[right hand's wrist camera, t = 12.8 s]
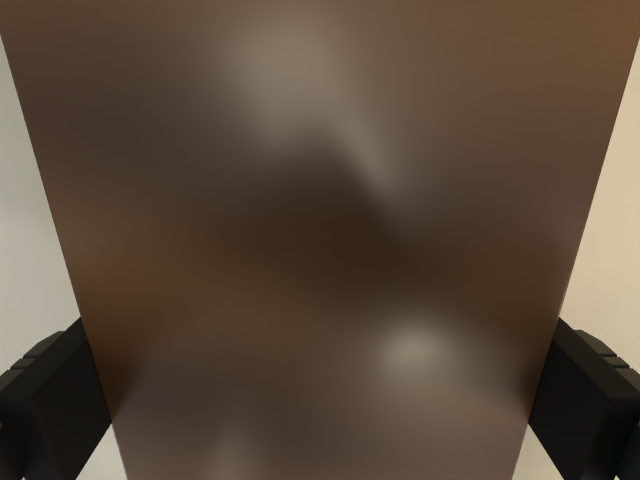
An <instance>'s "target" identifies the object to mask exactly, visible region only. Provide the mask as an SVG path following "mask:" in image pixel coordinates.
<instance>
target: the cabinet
mask: <svg viewBox="0 0 640 480" xmlns="http://www.w3.org/2000/svg"><path fill="white" fill-rule="evenodd" d="M0 35H1V38H2V42H3V45H4V49H5V52H6V56H7V59H8V63H9V66H10V70H11V73H12V77H13V80H14V84H15V87H16V91H17V94H18V98H19V101H20V105H21V108H22V112H23V115H24V119H25V122H26V126H27V129H28V133H29V136H30V140H31V143H32V147H33V150H34V154H35V157H36V161H37V164H38V168H39V171H40V175H41V178H42V182H43V185H44V189H45V193H46V196H47V200H48V203H49V207H50V210H51V214H52V217H53V221H54V224H55V228H56V231H57V235H58V238H59V242H60V245H61V249H62V252H63V256H64V259H65V263H66V266H67V270H68V273H69V277H70V280H71V284H72V287H73V291H74V294H75V298H76V301H77V305H78V308H79V312H80V315H81V319H82V322H83V326H84V329H85V333H86V336H87V340H88V343H89V347H90V350H91V354H92V357H93V361H94V364H95V368H96V371H97V375H98V378H99V382H100V385H101V389H102V392H103V396H104V399H105V403H106V406H107V410H108V413H109V417H110V421H111V424H112V428H113V431H114V435H115V438H116V442H117V445H118V449H119V452H120V456H121V459H122V463H123V466H124V470H125V473H126V477H127V480H512V477H513V473H514V470H515V467H516V463H517V460H518V456H519V453H520V449H521V446H522V442H523V439H524V435H525V432H526V429H527V425H528V422H529V418H530V415H531V411H532V408H533V404H534V401H535V397H536V394H537V391H538V387H539V384H540V380H541V377H542V373H543V370H544V366H545V363H546V359H547V356H548V352H549V349H550V346H551V342H552V339H553V335H554V332H555V328H556V325H557V321H558V318H559V314H560V311H561V308H562V304H563V301H564V297H565V294H566V290H567V287H568V283H569V280H570V276H571V273H572V269H573V266H574V263H575V259H576V256H577V252H578V249H579V245H580V242H581V238H582V235H583V231H584V228H585V225H586V221H587V218H588V214H589V211H590V207H591V204H592V200H593V197H594V193H595V190H596V187H597V183H598V180H599V176H600V173H601V169H602V166H603V162H604V159H605V155H606V152H607V148H608V145H609V142H610V138H611V135H612V131H613V128H614V124H615V121H616V117H617V114H618V110H619V107H620V104H621V100H622V97H623V93H624V90H625V86H626V83H627V79H628V76H629V72H630V69H631V66H632V62H633V59H634V55H635V52H636V48H637V45H638V41H639V38H640V0H0Z"/></svg>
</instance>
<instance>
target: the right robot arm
mask: <svg viewBox="0 0 640 480" xmlns="http://www.w3.org/2000/svg"><path fill="white" fill-rule="evenodd" d="M528 424H529V425H530V427H531V428H532V430H533V432H534V433H535V435H536V436H537V438H538V439H539V441H540V443H541V444H542V446H543V447H544V449H545V450H546V452H547V454H548V455H549V457H550V458H551V460H552V462H553V463H554V465H555V466H556V468H557V469H558V471H559V473H560V474H561V476H562V477H563V479H564V480H614V479H615V476H617V477H618V478H619V479H620V480H640V374H638V373H637V372H636V371H635V370H634V369H630V367H629V365H628V364H627V363H626V362H625V361H624V360H622V359H621V358H620V357H617V354H616V353H614V352H613V351H612V350H611V349H610V348H609V347H608V346H607V345H605V344H604V343H603V342H602V341H600V340H599V339H597V338H595V337H593V336H591V335H590V334H588V333H586V332H584V331H583V330H573V329H572V328H571V327H570V326H569V325H567V324H566V323H565V322H564V321H563V320H562V319H561V318H560V317H559V318H558V321H557V325H556V328H555V332H554V335H553V339H552V342H551V346H550V349H549V352H548V356H547V359H546V363H545V366H544V370H543V373H542V377H541V380H540V384H539V387H538V391H537V394H536V397H535V401H534V404H533V408H532V411H531V415H530V418H529V422H528ZM110 425H111V421H110V417H109V413H108V410H107V406H106V403H105V399H104V396H103V392H102V389H101V385H100V382H99V378H98V375H97V371H96V368H95V364H94V361H93V357H92V354H91V350H90V347H89V343H88V340H87V336H86V333H85V329H84V326H83V322H82V319H81V317H80V318H79V319H77V320H76V321H75V322H74V323H73V324H72V325H71V326H70V327H69V328H68V329H67V330H66V331H58V332H56V333H54V334H53V335H51V336H49V337H47V338H45V339H44V340H42V341H40V342H38V343H37V344H36V345H35V346H34V347H33V348H32V349H30V350H29V351H28V352H27V353H26V354H25V355H24V356H23V359H19V360H18V361H17V362H16V363H15V364H13V365H12V366H11V368H10V370H7V371H5V372H4V373H3V374H2V375H1V376H0V480H22V478H23V477H24V478H25V480H76V478H77V477H78V475H79V474H80V472H81V470H82V469H83V467H84V466H85V464H86V462H87V461H88V459H89V458H90V456H91V455H92V453H93V451H94V450H95V448H96V447H97V445H98V444H99V442H100V440H101V439H102V437H103V436H104V434H105V432H106V431H107V429H108V428H109V426H110Z"/></svg>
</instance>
